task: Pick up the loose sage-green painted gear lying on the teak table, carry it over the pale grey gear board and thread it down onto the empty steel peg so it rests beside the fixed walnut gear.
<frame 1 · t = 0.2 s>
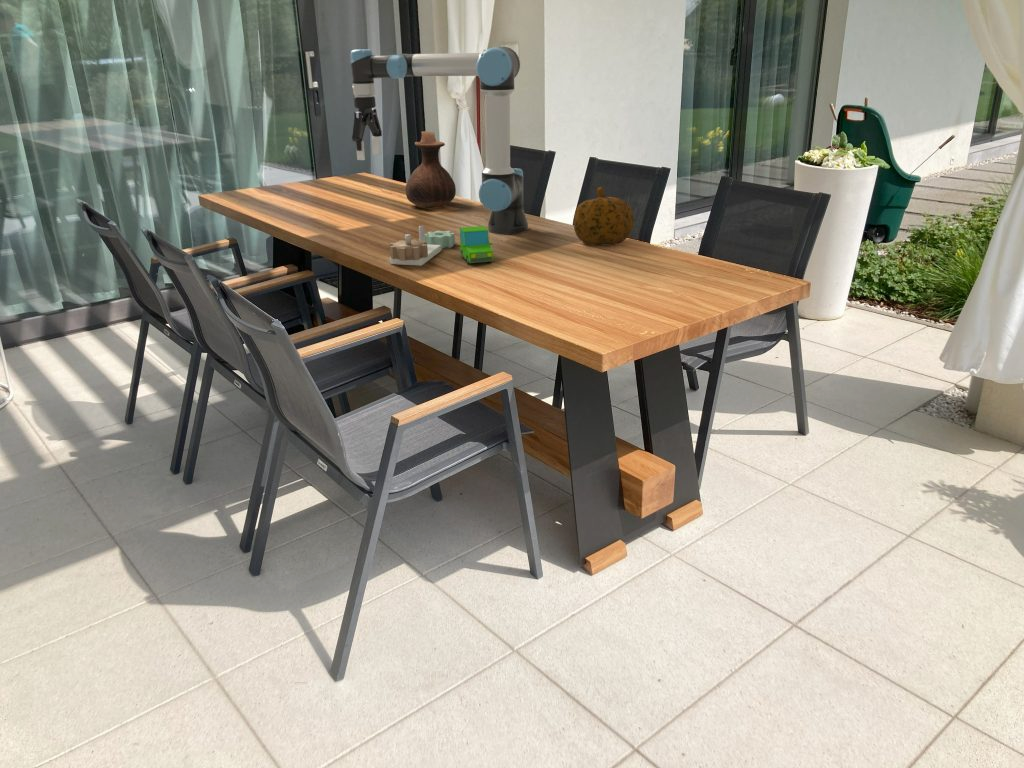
hand: (369, 157, 305), 28 cm above the table, fingers open, 13 cm apart
decorative pumpkin: (602, 243, 297), on the table
toy car: (477, 261, 276), on the table
brown wooden bulbous vase: (431, 206, 361), on the table
loose gear: (439, 245, 296), on the table
gear board: (416, 257, 281), on the table
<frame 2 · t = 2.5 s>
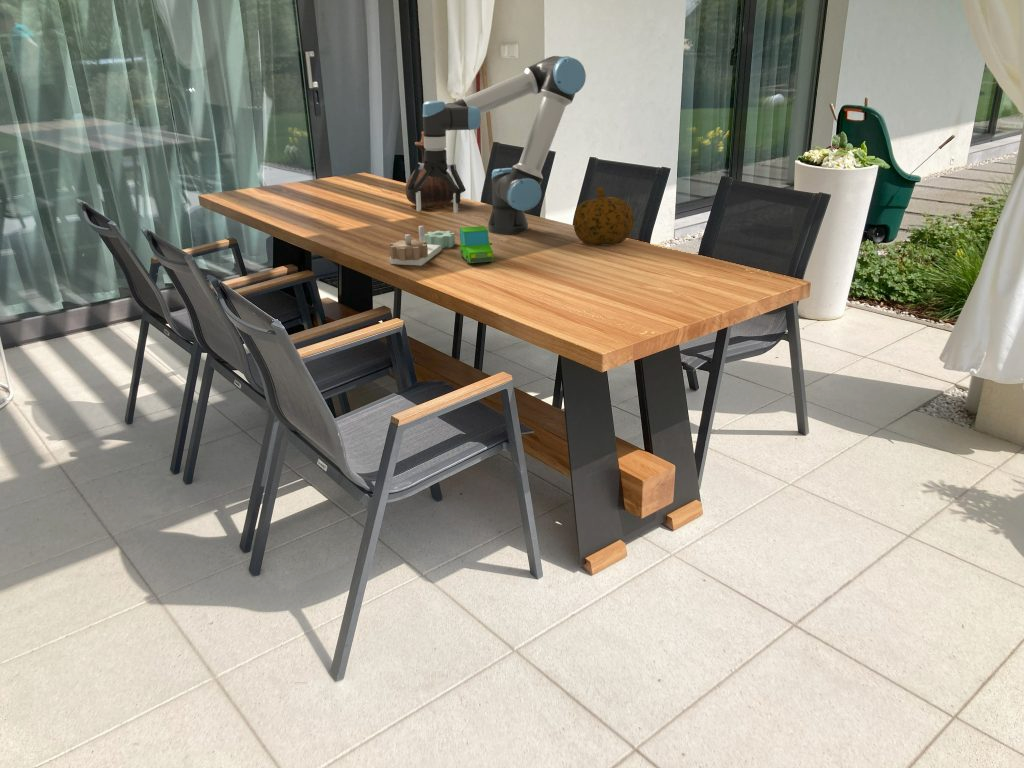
hand: (437, 211, 291), 12 cm above the table, fingers open, 13 cm apart
nothing on the table moved.
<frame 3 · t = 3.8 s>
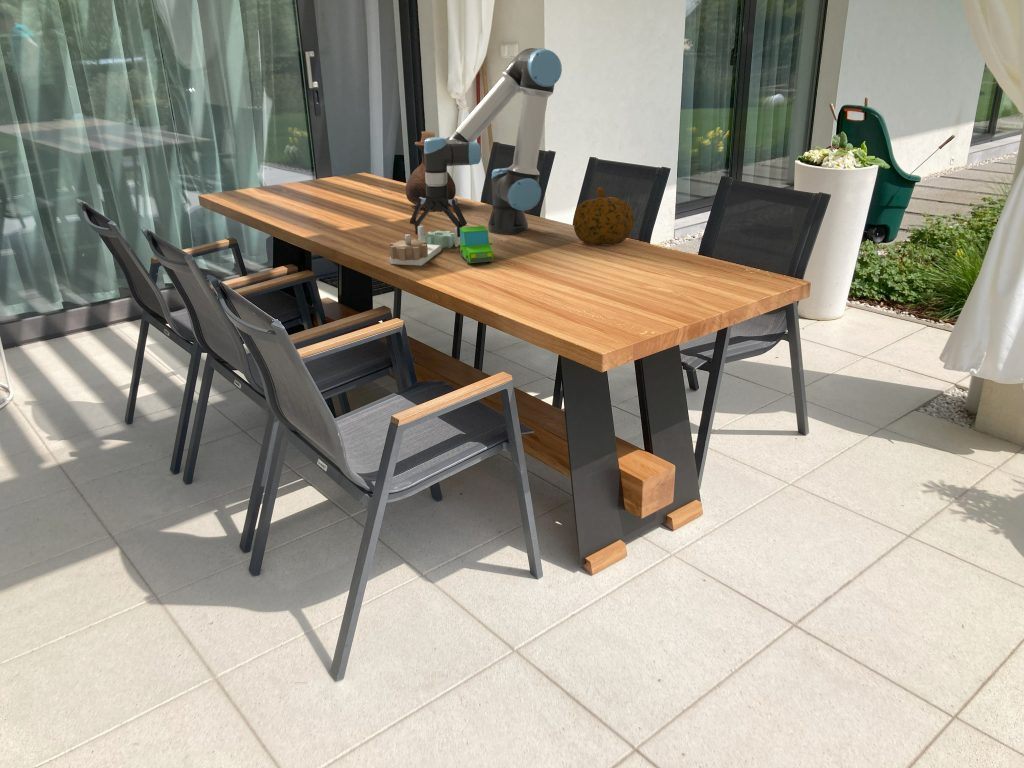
hand: (438, 245, 296), 0 cm above the table, fingers open, 13 cm apart
nothing on the table moved.
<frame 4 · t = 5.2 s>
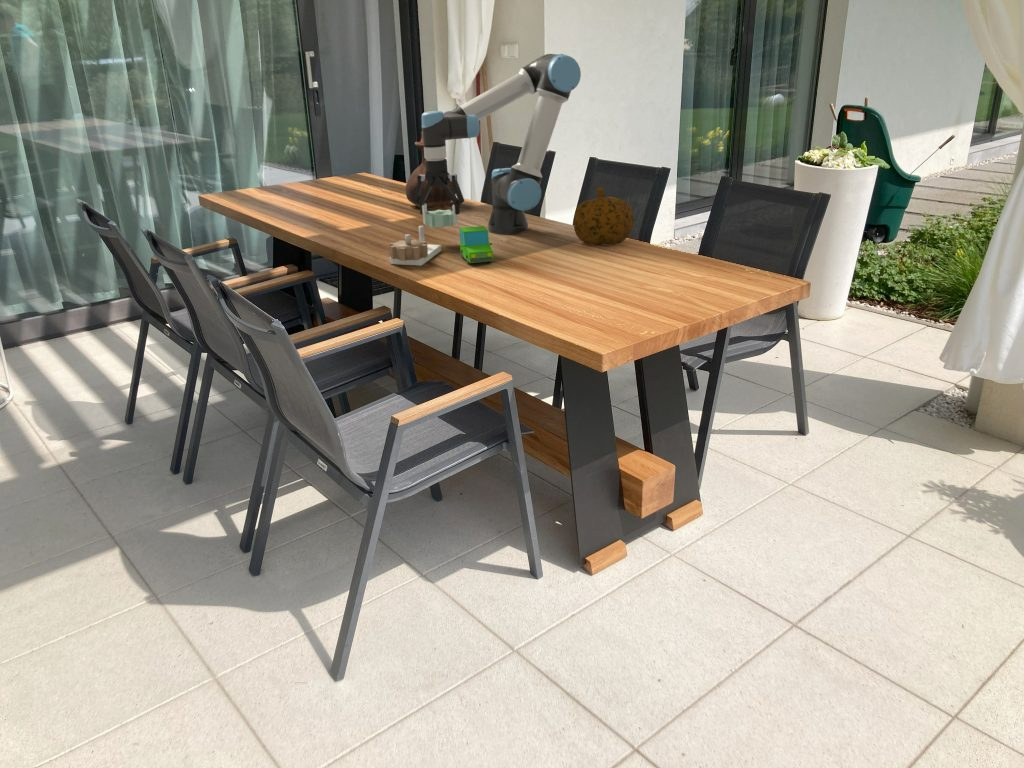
hand: (440, 223, 293), 8 cm above the table, fingers closed on loose gear, 10 cm apart
loose gear: (440, 224, 293), point 7 cm above the table, touching gripper
everything else where it was.
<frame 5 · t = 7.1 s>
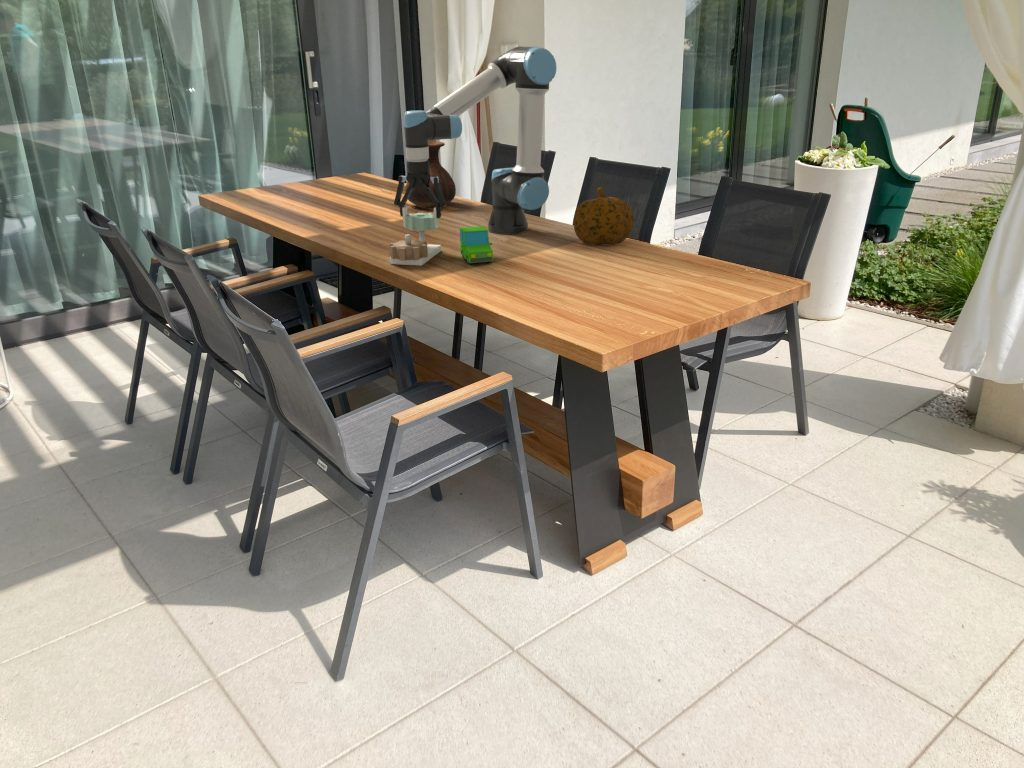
hand: (421, 226, 283), 9 cm above the table, fingers closed on loose gear, 10 cm apart
loose gear: (421, 227, 283), point 9 cm above the table, touching gripper
everything else where it was.
when the fingers open (4 cm above the table, at t = 9.4 s): loose gear drops 2 cm, resting on gear board.
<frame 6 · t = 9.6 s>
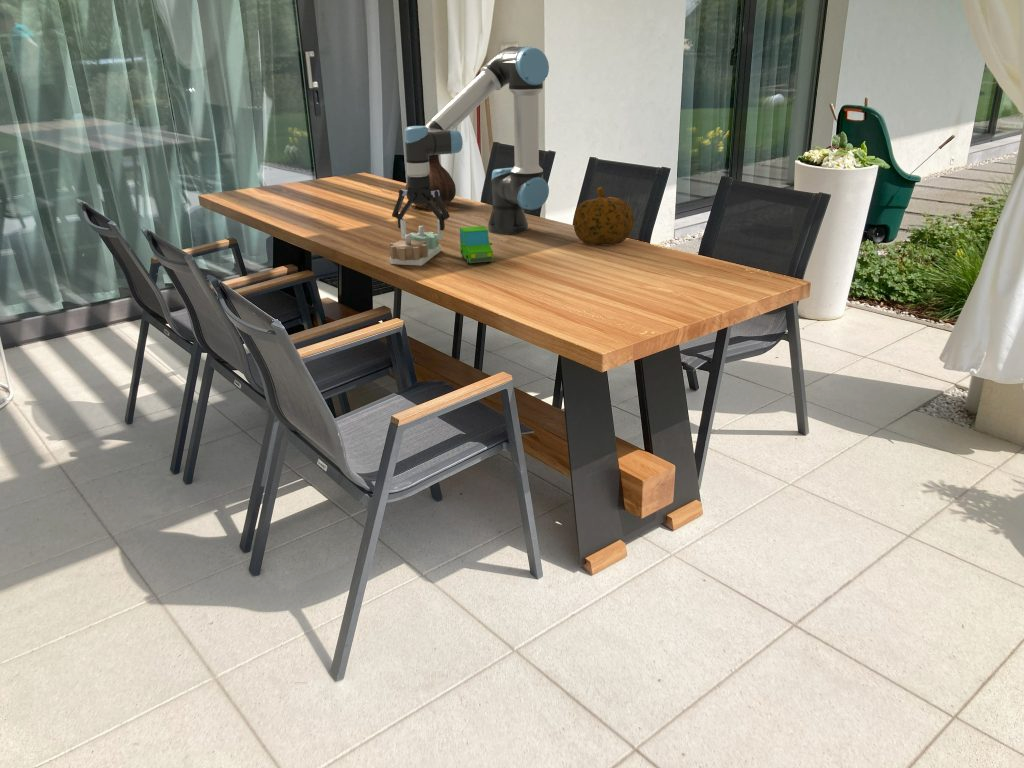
hand: (422, 238, 285), 5 cm above the table, fingers open, 12 cm apart
loose gear: (422, 246, 286), point 2 cm above the table, touching gear board
everything else where it was.
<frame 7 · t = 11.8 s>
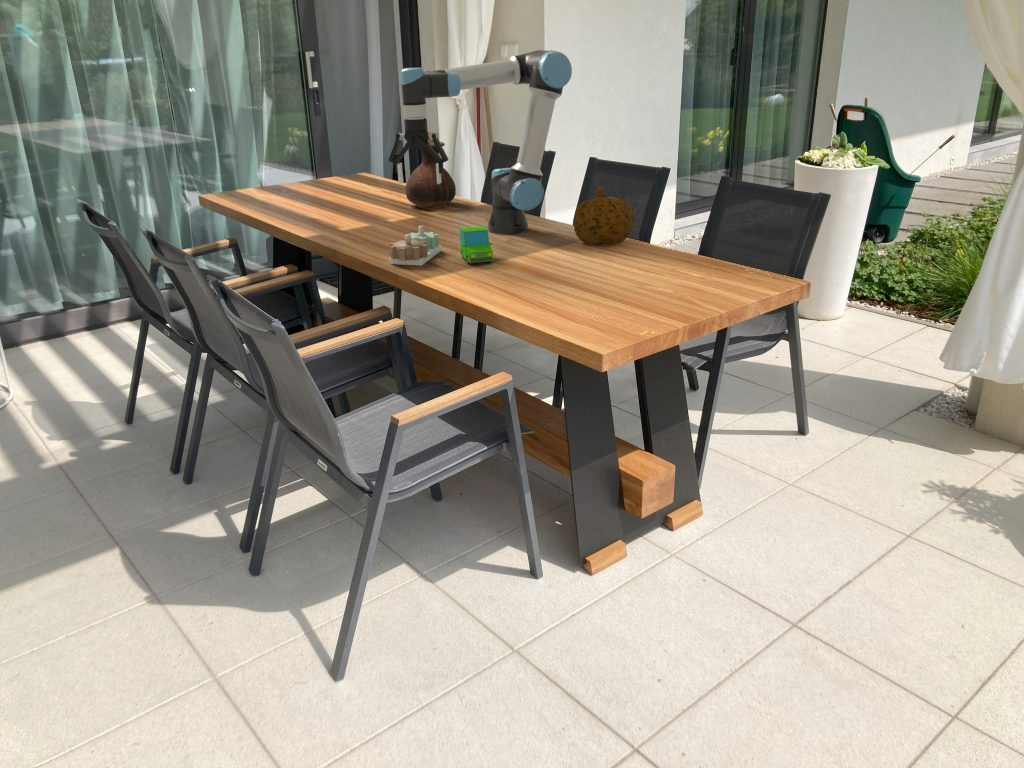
hand: (420, 183, 283), 22 cm above the table, fingers open, 13 cm apart
nothing on the table moved.
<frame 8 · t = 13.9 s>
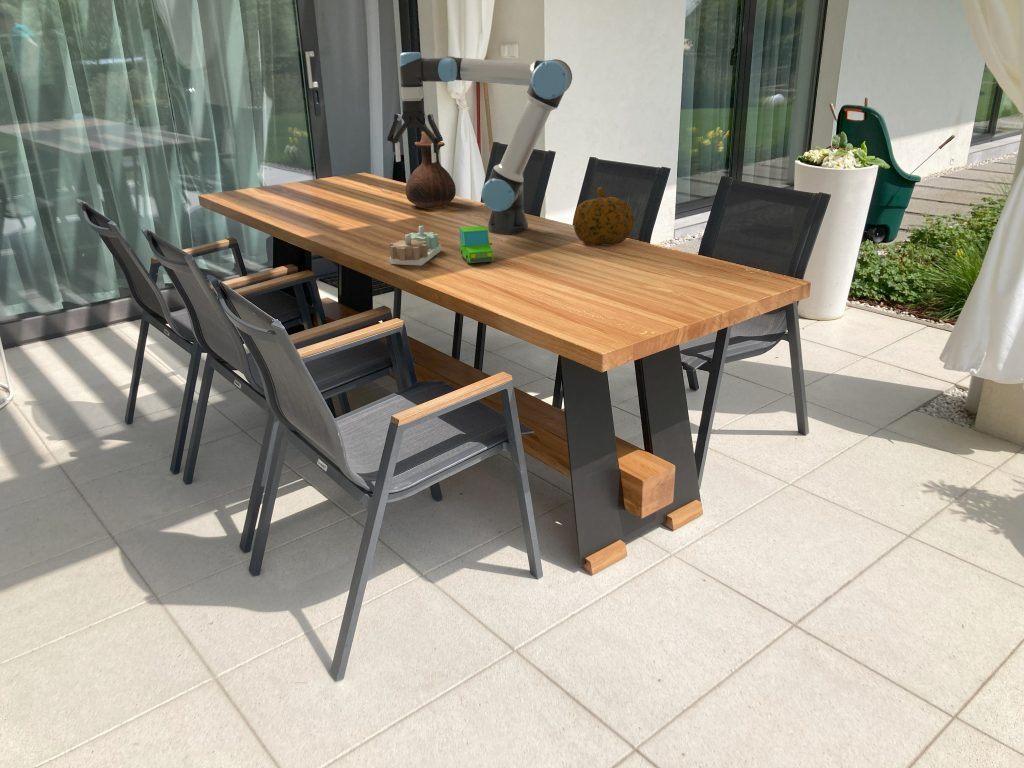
hand: (416, 161, 300), 27 cm above the table, fingers open, 13 cm apart
nothing on the table moved.
at the end: loose gear 0.1 cm from the target spot on the gear board, point 2.0 cm above the gear board's base; loose gear tilted 0°; the gripper is holding nothing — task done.
